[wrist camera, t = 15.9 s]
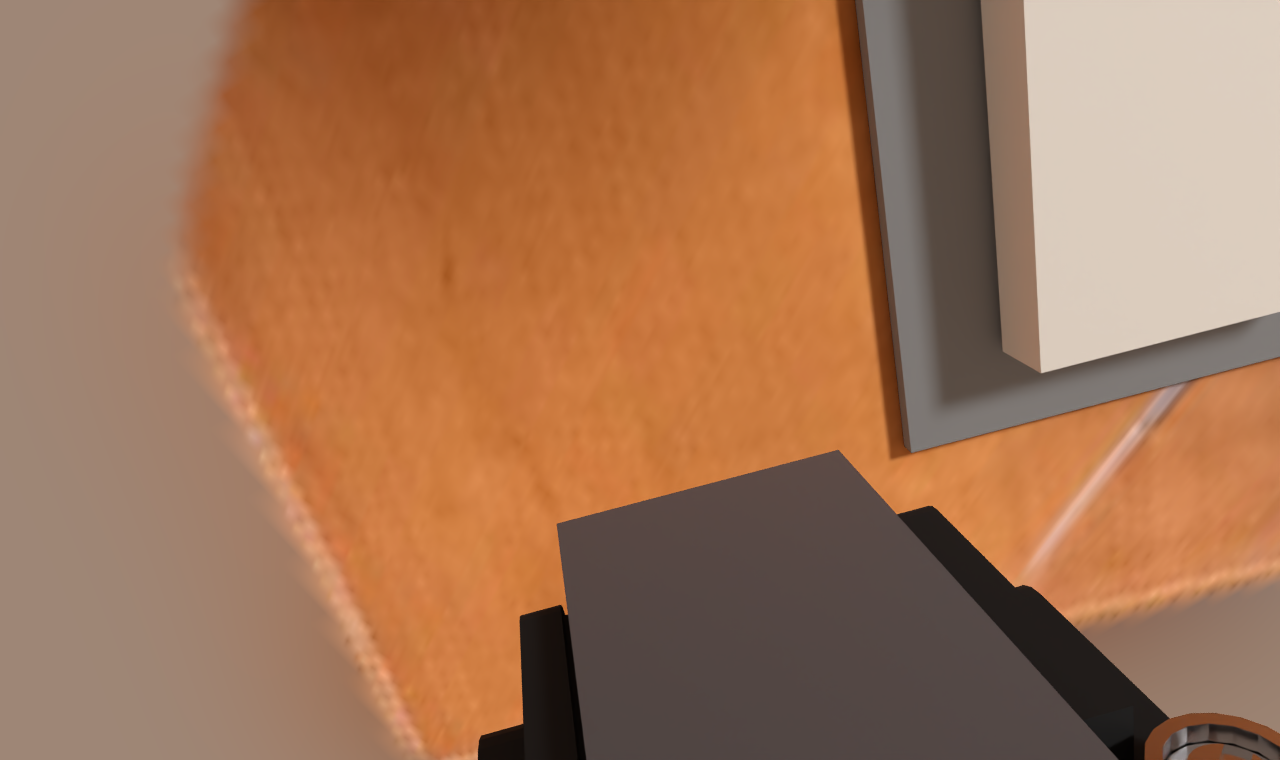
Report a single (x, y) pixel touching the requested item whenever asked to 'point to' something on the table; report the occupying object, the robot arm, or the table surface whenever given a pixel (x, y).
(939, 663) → the block
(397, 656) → the table surface
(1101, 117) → the tile
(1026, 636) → the robot arm
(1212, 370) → the mat
